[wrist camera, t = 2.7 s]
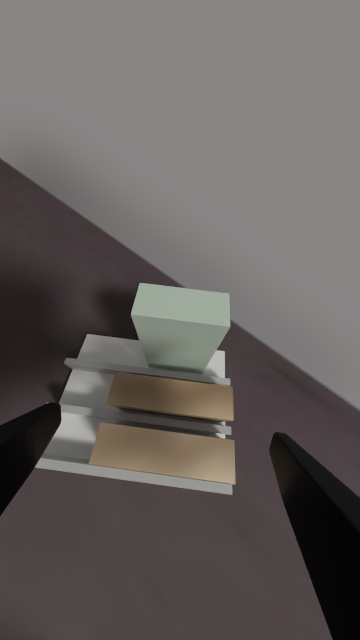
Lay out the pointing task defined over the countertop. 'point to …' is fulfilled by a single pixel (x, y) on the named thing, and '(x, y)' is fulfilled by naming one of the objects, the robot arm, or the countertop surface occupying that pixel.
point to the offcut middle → (171, 397)
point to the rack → (122, 411)
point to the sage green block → (180, 325)
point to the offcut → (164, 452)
